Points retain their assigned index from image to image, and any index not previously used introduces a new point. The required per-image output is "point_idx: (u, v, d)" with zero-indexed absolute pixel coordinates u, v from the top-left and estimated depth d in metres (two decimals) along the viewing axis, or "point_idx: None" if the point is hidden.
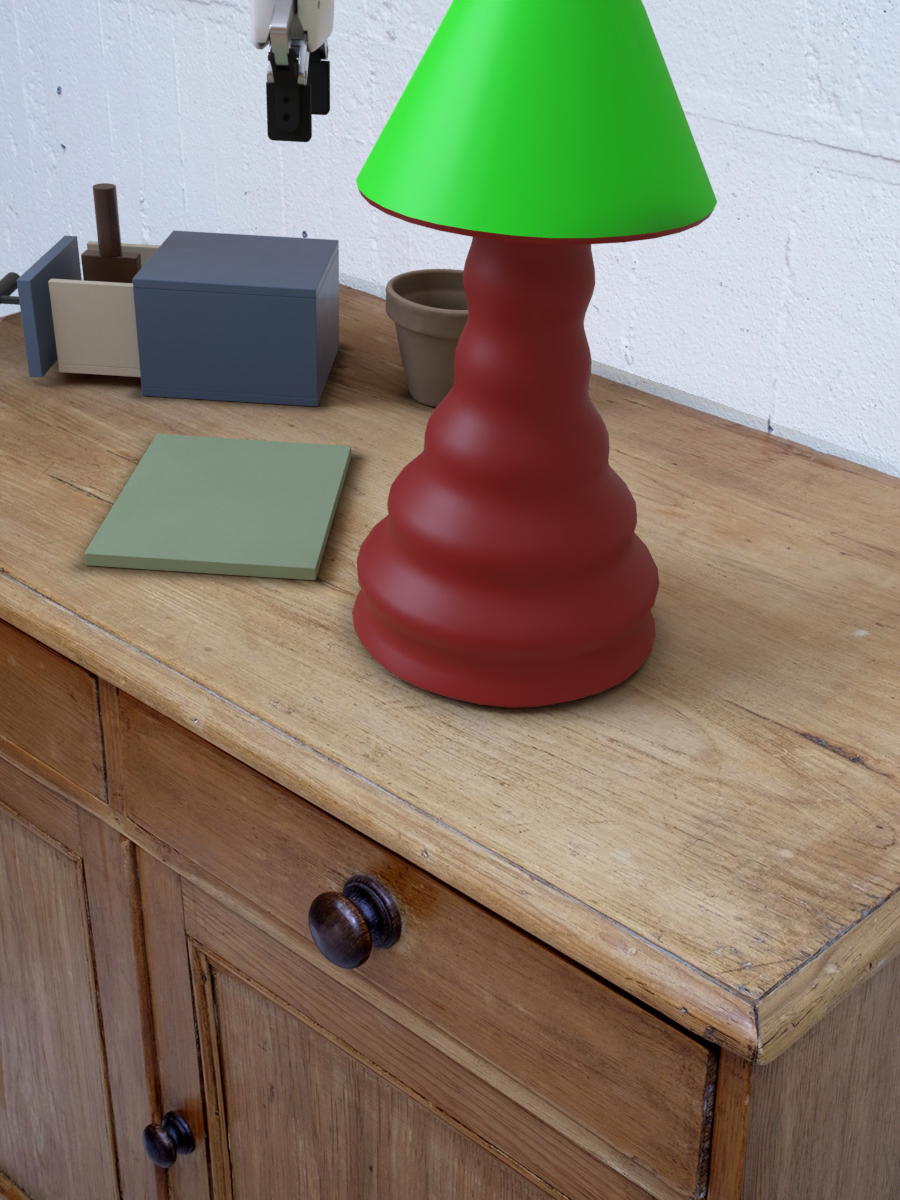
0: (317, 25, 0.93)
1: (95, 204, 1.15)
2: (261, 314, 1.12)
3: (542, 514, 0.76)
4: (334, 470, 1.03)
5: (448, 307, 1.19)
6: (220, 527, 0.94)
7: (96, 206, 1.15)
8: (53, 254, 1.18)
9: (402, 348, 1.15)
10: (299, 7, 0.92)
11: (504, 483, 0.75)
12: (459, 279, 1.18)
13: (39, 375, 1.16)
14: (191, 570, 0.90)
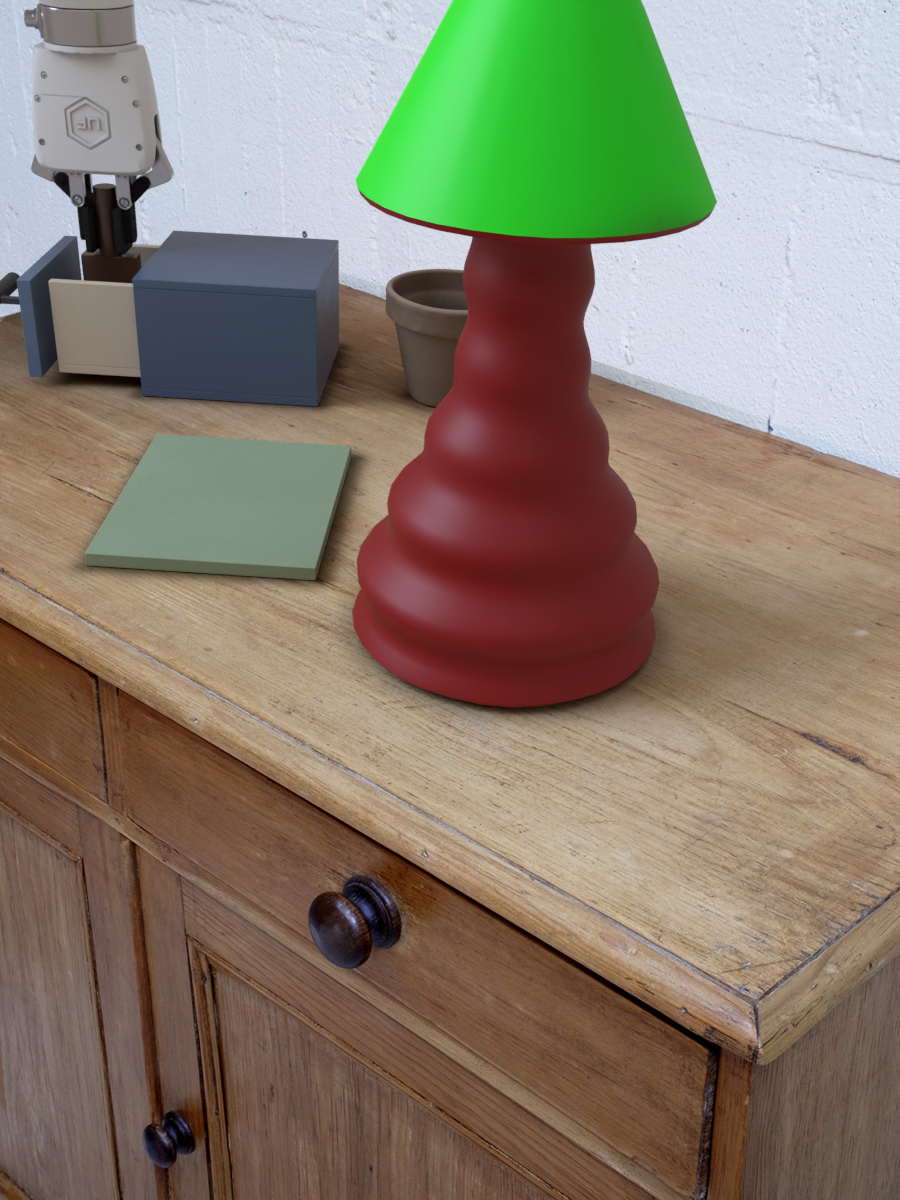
0: None
1: (95, 204, 1.15)
2: (261, 314, 1.12)
3: (542, 514, 0.76)
4: (334, 470, 1.03)
5: (448, 307, 1.19)
6: (220, 527, 0.94)
7: (96, 206, 1.15)
8: (53, 254, 1.18)
9: (402, 348, 1.15)
10: (159, 130, 1.13)
11: (504, 483, 0.75)
12: (459, 279, 1.18)
13: (39, 375, 1.16)
14: (191, 570, 0.90)
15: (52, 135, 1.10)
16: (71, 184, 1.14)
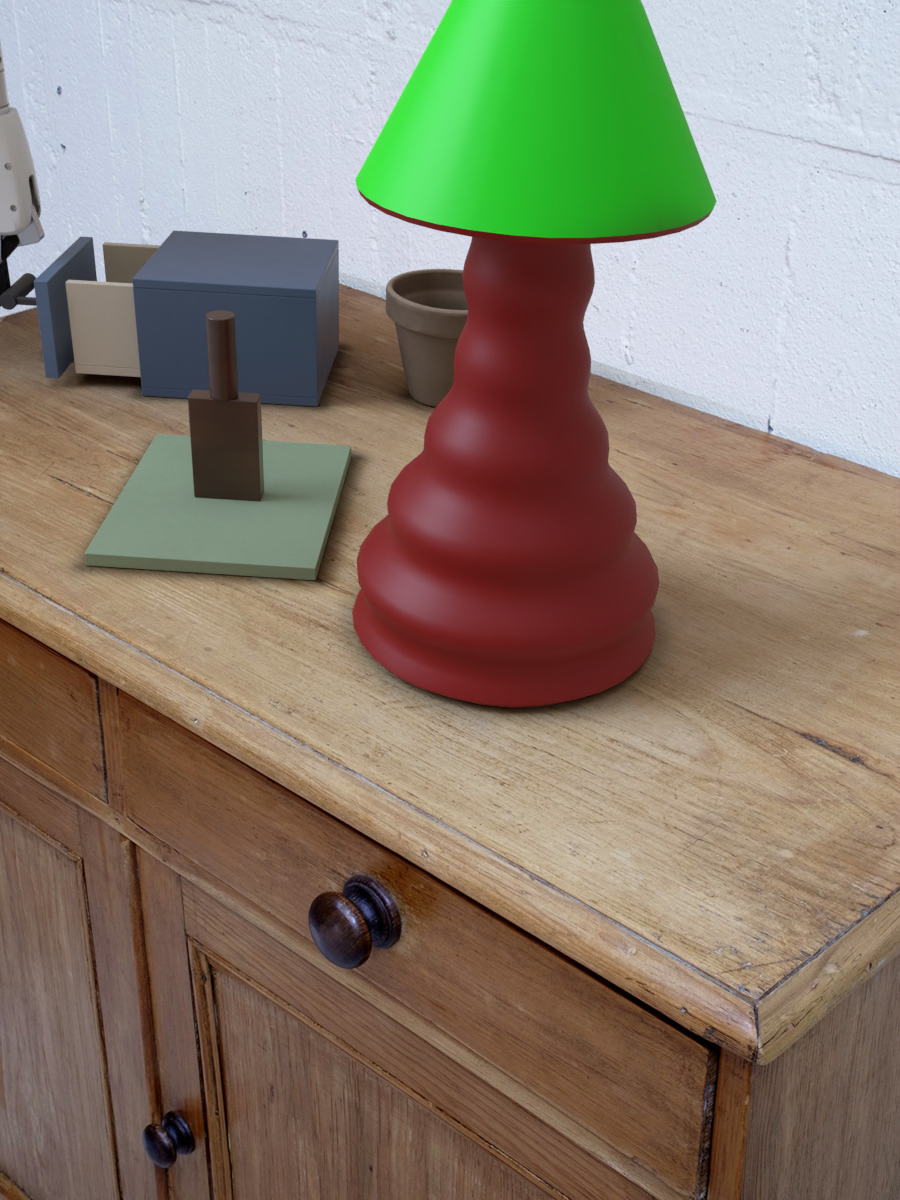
0: None
1: (208, 337, 0.91)
2: (261, 314, 1.12)
3: (542, 514, 0.76)
4: (334, 470, 1.03)
5: (448, 307, 1.19)
6: (220, 527, 0.94)
7: (210, 340, 0.91)
8: (69, 255, 1.18)
9: (402, 348, 1.15)
10: (36, 189, 1.15)
11: (504, 483, 0.75)
12: (459, 279, 1.18)
13: (56, 376, 1.16)
14: (191, 570, 0.90)
15: None
16: None
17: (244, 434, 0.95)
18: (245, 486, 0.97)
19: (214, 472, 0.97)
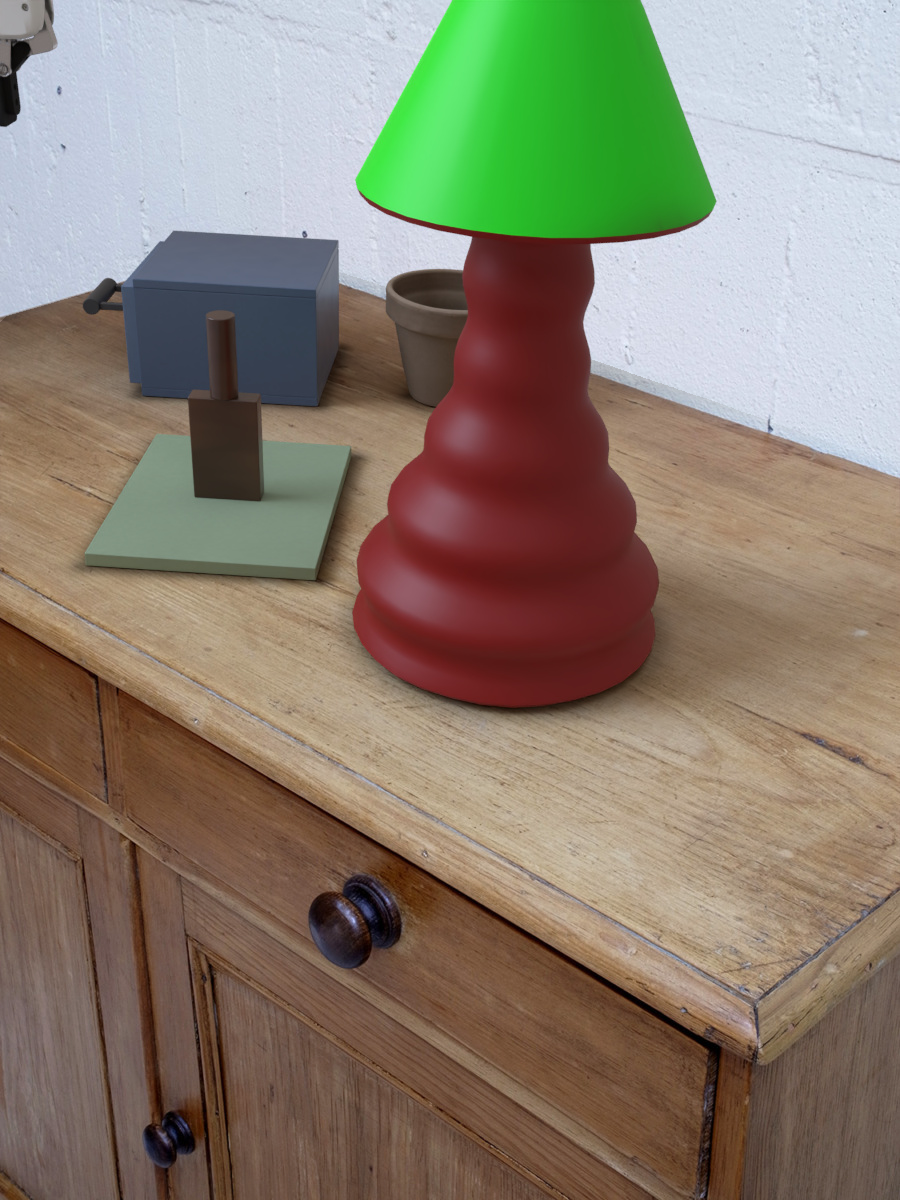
0: None
1: (208, 337, 0.91)
2: (261, 314, 1.12)
3: (541, 514, 0.76)
4: (334, 470, 1.03)
5: (448, 307, 1.19)
6: (220, 527, 0.94)
7: (210, 340, 0.91)
8: None
9: (402, 348, 1.15)
10: None
11: (504, 483, 0.75)
12: (459, 279, 1.18)
13: (140, 381, 1.16)
14: (191, 570, 0.90)
15: None
16: None
17: (244, 434, 0.95)
18: (245, 486, 0.97)
19: (214, 472, 0.97)
